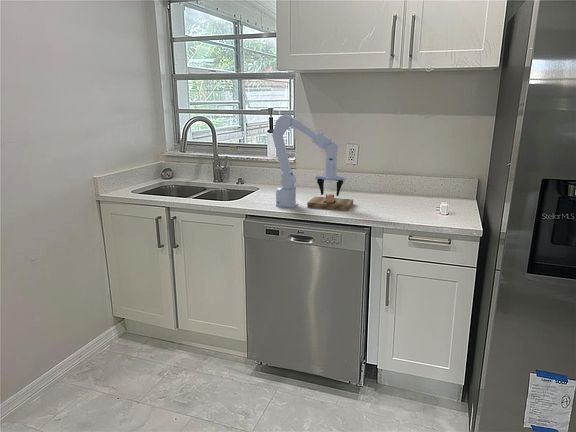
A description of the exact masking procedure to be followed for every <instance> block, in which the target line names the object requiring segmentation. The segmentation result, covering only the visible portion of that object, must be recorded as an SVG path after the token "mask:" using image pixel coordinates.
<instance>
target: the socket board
mask: <svg viewBox="0 0 576 432" xmlns="http://www.w3.org/2000/svg"><path fill="white" fill-rule="evenodd" d="M353 205H354V198H353V199H352V198H350V199H349V198H339V197H337V198H336V197H334V203H326V196H324V197H323V196H314V197H312V198H311V199H309V200H308V201H307V205H306V207H307V208H310V209H322V210H334V211H342V212H344V211H346V212H348V211H349V210H350V209H351V208H352V206H353Z"/></svg>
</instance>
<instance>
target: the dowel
mask: <svg viewBox="0 0 576 432" xmlns="http://www.w3.org/2000/svg"><path fill="white" fill-rule="evenodd" d="M325 197H326V203H334V198H335V194H334V193H333V194H332V193H328V194H325Z"/></svg>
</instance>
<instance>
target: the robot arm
mask: <svg viewBox="0 0 576 432" xmlns="http://www.w3.org/2000/svg"><path fill="white" fill-rule="evenodd" d="M289 128H290V129H295V130H298V131H300V132H302V133H303V134H304V135H306V136H307V137H309V138H311V142H312V143H313V144H314V145H316V146H317V147H318V148H320V149H321V150H324V152H325V156H324V174H323V175H320V174H319V175H318V174H316V175H315V176H314V177H315V181H316V180H317V181H316V183H317V185H318V188H319V191H320V195H321V196H323V195H324V191H325V190H324V189H325V188H324V187H325V186H324V185H325V181H331V182H332V181H334V182H336V197H339V195H340V191H341V188H342V186H343V185H344V182H346V179H347V177H346V176H341V175H339V176H338V175H337V173H338V172H337V171H338V152H339V151H338V148H339V147H338V144H337V143H336V142H335V141H333V140H332V139H331V138H329V137H327V136H326V135H324V132H322V131H321V132H320V131H316V132H315V130H313V129H311V128H310V127H309V126H307V125H306V124H304V122H302V121H301V120H299V119H297V118H296V117H293V116H291V115H290V114H282V115H280V116H279V117H278V118H277V120H276V121H275V124H274V126H273V130H272V134H271V135H272V139H273V143H274V147H275V152H276V155H277V160H278V164H279V167H280V177H281V181H280V185H281V187H277V188H276V192H275V207H278V208H280V207H281V208H290V209H292V208H295V207H296V206H298V205H299V203H297V202H296V201H297V195H296V193H297V187H296V186H295V184H296V182H297V179H296V178H297V177H296V175H295V174H294V172H293V170H292V168H291V163H290V159H289V156H288V151H287V147H286V143H285V140H284V134H286V131H287V130H288V129H289Z"/></svg>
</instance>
